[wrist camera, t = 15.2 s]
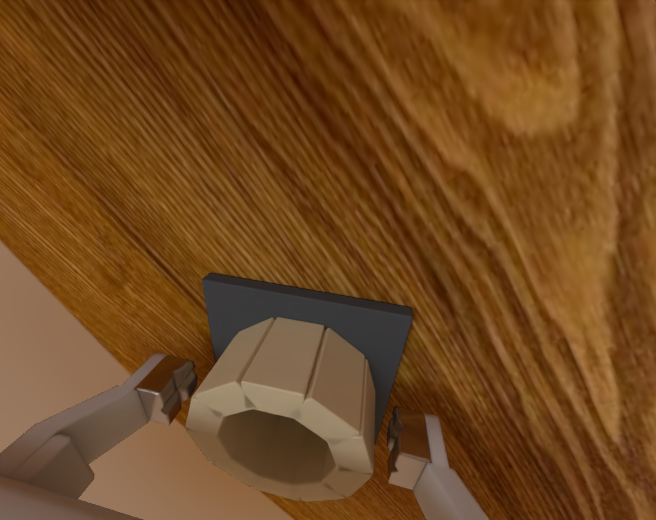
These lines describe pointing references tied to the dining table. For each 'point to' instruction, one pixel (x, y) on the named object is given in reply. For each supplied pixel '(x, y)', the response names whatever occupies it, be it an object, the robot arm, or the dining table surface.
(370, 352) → the mat
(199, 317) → the dining table surface
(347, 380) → the tape roll
